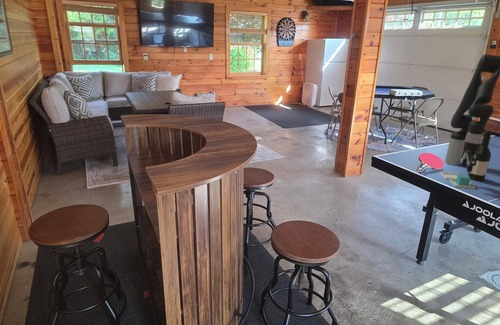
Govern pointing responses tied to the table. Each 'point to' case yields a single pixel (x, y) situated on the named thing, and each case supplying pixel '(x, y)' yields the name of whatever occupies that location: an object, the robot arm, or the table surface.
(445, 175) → the grey tray
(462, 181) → the teal block
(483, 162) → the wine bottle
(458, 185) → the green tray
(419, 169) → the table surface
